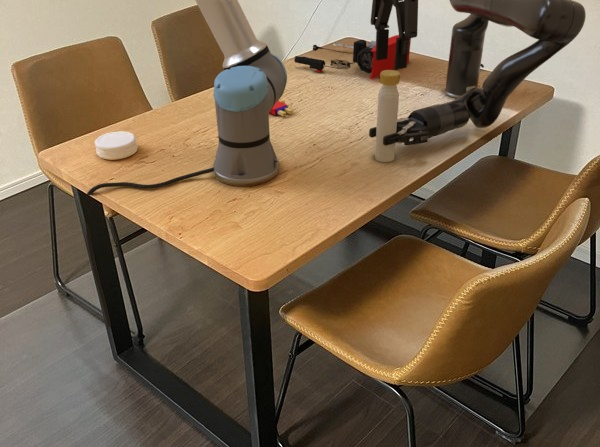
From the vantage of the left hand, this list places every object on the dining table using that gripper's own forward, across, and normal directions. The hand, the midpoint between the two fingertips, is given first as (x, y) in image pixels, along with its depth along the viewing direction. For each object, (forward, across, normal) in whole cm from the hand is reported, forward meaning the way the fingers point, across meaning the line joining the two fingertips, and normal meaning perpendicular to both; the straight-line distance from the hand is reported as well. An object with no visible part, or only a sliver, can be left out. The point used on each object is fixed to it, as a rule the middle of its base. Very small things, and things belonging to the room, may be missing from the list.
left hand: (390, 63), depth 138 cm
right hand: (+17, 0, -3) cm, 17 cm away
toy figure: (+23, -40, -10) cm, 48 cm away
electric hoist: (+23, -64, +31) cm, 75 cm away
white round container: (+23, -36, -56) cm, 70 cm away
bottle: (+23, 0, 0) cm, 23 cm away
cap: (+2, 0, 0) cm, 2 cm away
